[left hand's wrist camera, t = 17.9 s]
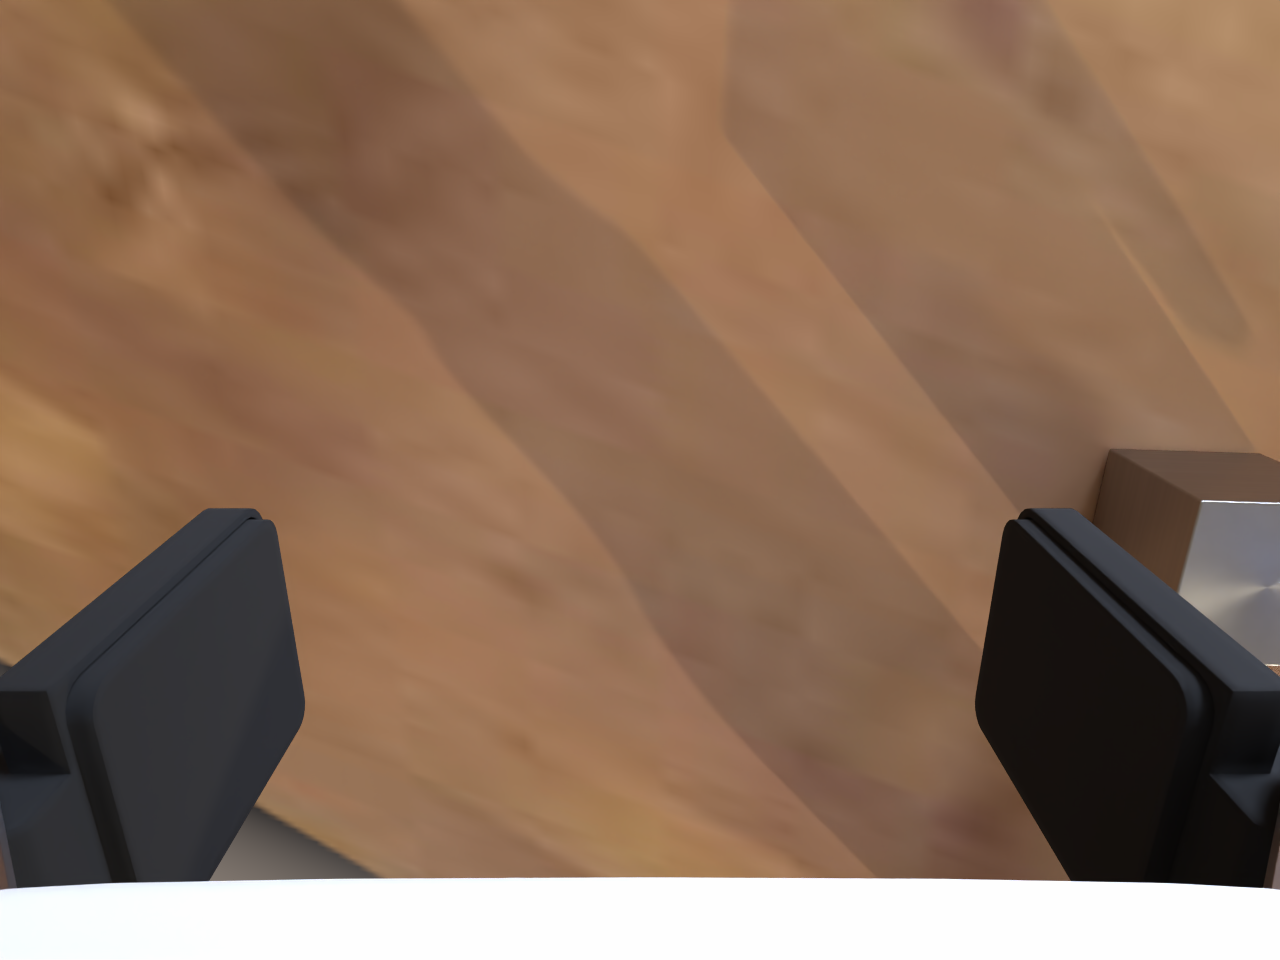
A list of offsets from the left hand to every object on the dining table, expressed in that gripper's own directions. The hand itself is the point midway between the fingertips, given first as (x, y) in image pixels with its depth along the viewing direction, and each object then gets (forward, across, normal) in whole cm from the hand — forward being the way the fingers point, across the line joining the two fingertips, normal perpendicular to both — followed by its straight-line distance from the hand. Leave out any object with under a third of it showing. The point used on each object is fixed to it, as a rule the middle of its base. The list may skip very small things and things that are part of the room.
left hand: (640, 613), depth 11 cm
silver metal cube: (+17, +18, -6) cm, 25 cm away
